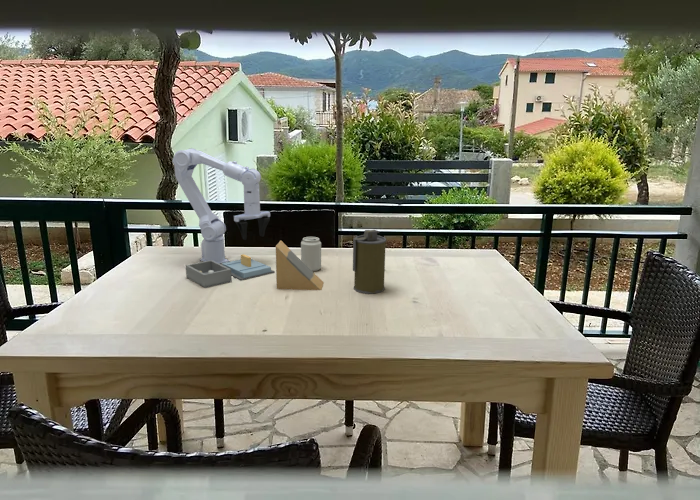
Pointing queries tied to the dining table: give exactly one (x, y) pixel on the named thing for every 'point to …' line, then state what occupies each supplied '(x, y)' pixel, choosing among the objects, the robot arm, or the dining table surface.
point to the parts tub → (208, 273)
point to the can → (311, 253)
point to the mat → (251, 276)
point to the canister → (369, 262)
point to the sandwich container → (294, 271)
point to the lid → (247, 267)
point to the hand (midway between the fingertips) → (253, 237)
